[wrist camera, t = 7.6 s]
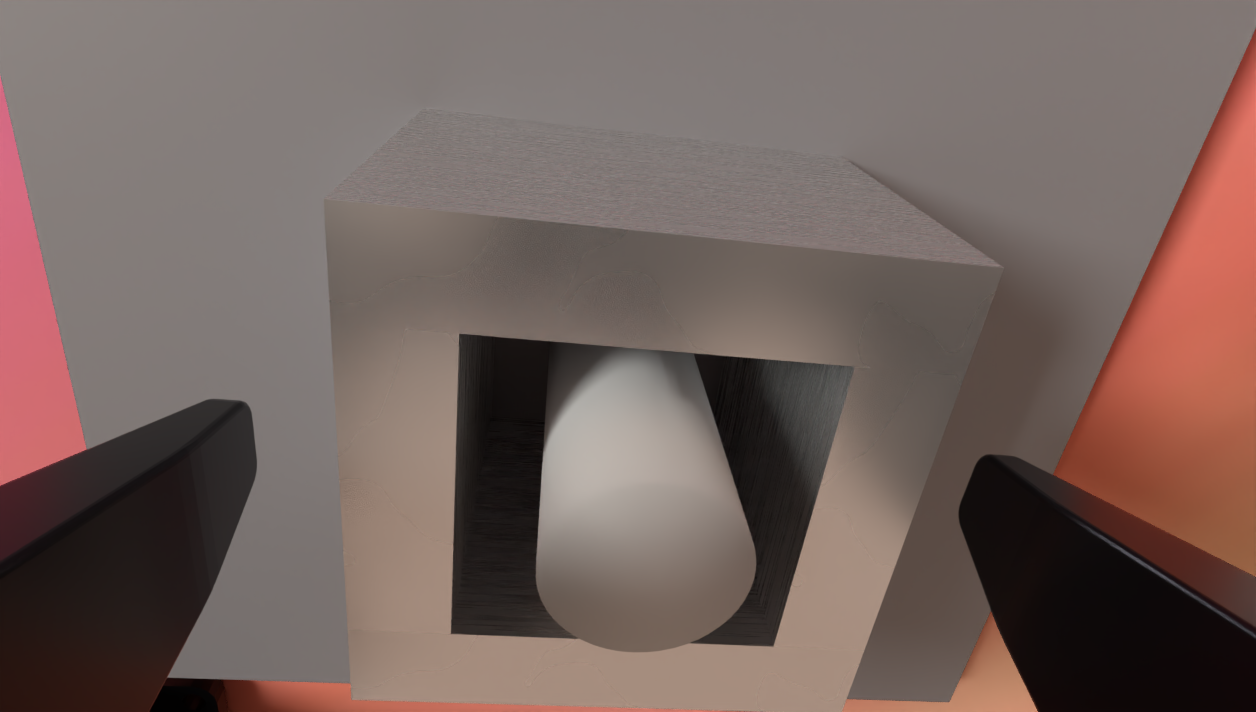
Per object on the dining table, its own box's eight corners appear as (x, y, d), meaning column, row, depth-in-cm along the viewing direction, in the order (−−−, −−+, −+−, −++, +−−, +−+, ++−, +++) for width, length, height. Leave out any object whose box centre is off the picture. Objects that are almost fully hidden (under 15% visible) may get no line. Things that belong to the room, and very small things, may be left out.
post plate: (931, 667, 19) (1109, 1013, 13) (162, 638, 17) (-83, 1036, 10) (1311, -222, 11) (2323, -491, 5) (-69, -485, 9) (-1661, -1621, 3)
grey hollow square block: (759, 488, 15) (840, 714, 10) (422, 467, 14) (351, 699, 9) (841, 157, 12) (1004, 267, 7) (423, 107, 11) (323, 198, 7)
